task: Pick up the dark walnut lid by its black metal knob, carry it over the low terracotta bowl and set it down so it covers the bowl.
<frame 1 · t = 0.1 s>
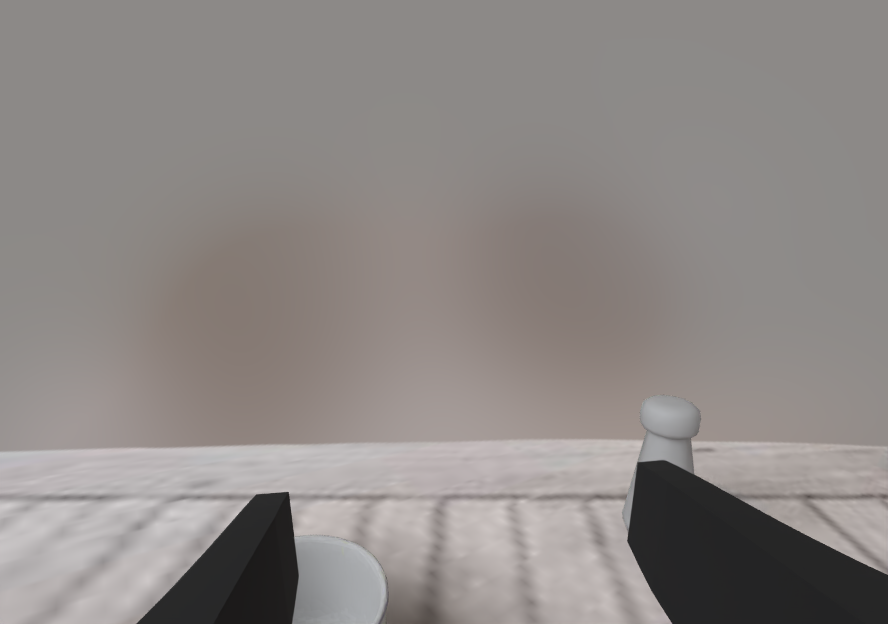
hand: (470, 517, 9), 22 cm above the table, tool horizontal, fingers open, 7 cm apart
salt shaker: (657, 546, 38), on the table
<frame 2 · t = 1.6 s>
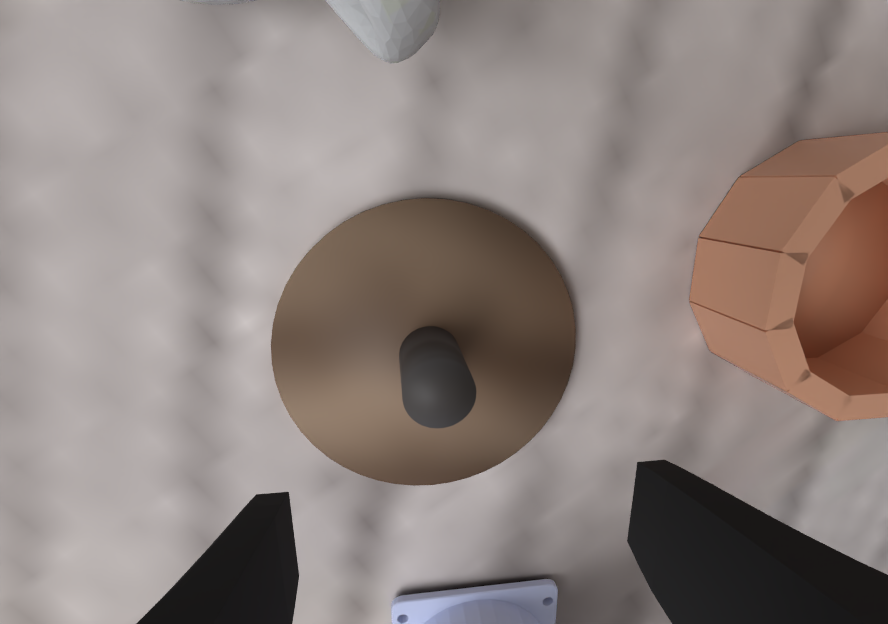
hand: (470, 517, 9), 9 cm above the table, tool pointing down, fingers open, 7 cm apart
lid: (427, 347, 19), on the table
bowl: (803, 265, 19), on the table
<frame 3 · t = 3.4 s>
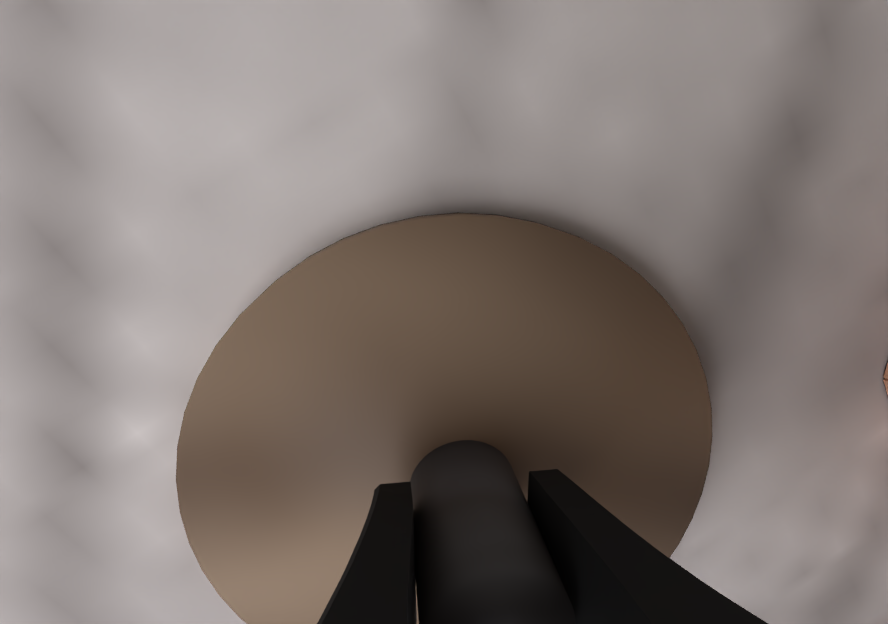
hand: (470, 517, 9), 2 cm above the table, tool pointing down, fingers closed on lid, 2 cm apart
lid: (457, 465, 11), on the table, touching gripper
when the fingers open (7 cm above the table, at t = 6.9 s): lid stays where it is, resting on bowl.
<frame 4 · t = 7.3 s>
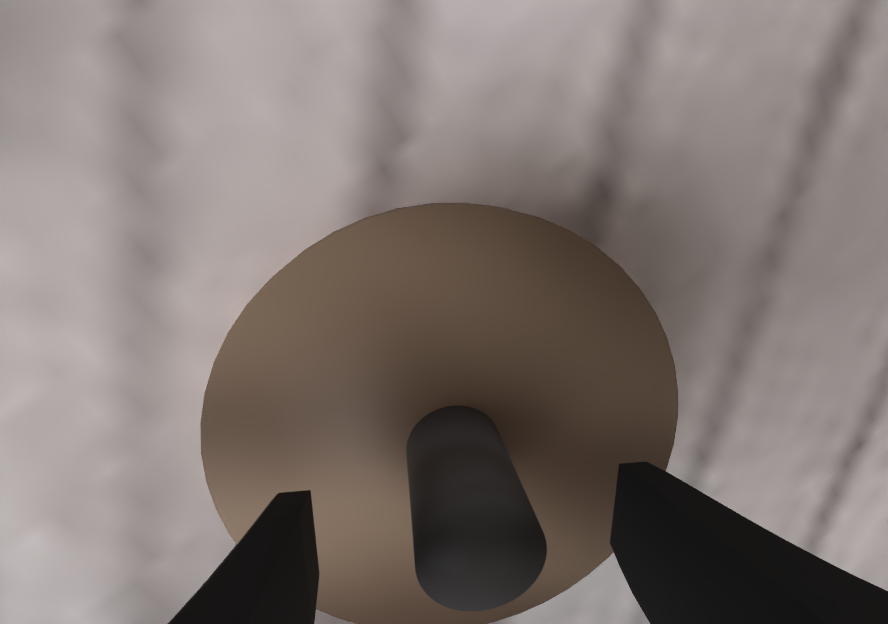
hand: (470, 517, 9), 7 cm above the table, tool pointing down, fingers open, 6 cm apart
lid: (449, 431, 12), point 4 cm above the table, touching bowl
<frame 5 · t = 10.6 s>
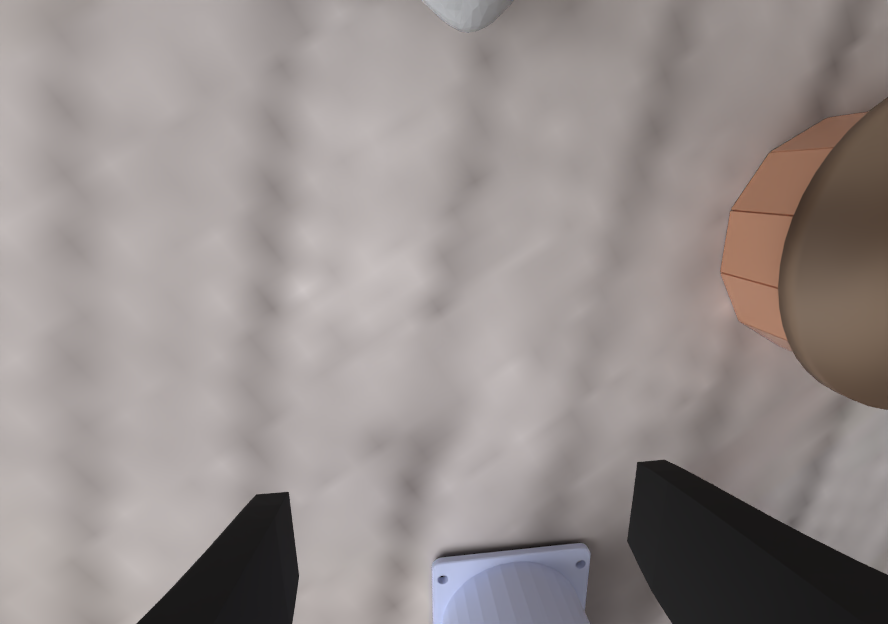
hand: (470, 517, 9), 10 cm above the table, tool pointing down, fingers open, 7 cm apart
bowl: (828, 239, 20), on the table
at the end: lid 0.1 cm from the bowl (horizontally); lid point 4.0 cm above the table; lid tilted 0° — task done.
